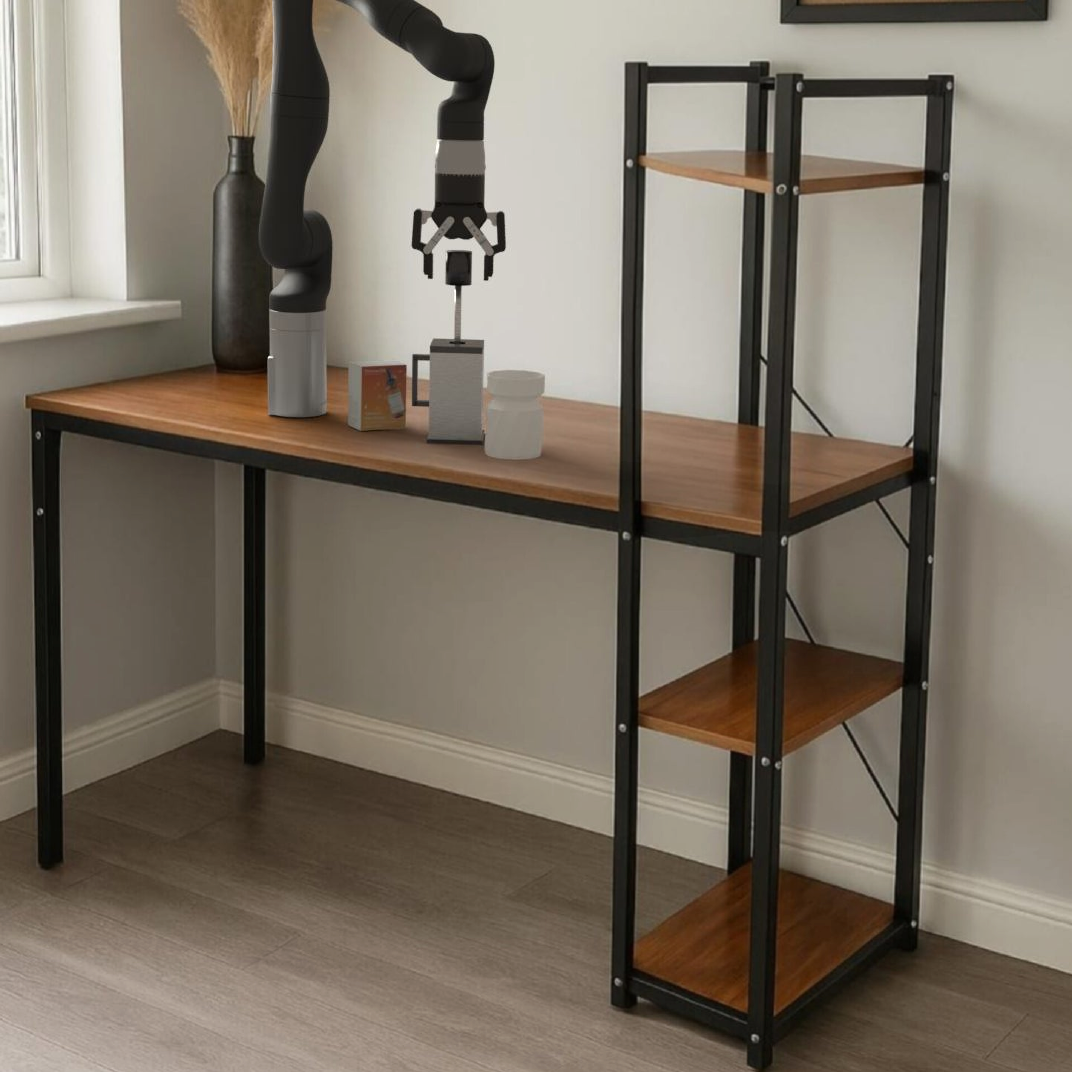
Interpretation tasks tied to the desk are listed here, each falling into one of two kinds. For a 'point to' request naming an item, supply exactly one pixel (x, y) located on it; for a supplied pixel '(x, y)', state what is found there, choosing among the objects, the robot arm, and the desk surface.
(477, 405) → the press carafe
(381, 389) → the small box
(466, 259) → the plunger
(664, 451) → the desk surface
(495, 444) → the white plastic jar
